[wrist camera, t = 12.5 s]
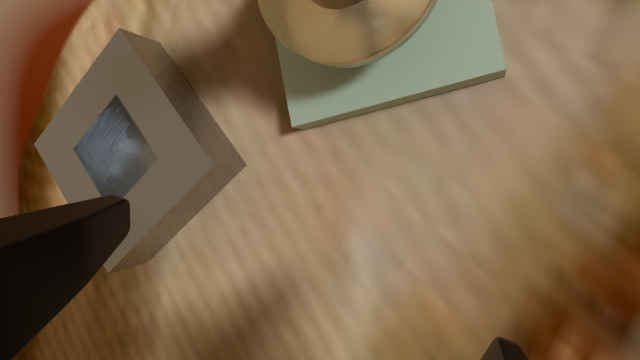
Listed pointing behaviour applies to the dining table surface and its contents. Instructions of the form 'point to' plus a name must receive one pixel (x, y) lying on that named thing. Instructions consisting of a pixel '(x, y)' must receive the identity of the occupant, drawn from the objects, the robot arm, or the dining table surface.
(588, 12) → the dining table surface
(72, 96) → the bore block
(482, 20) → the pad
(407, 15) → the metallic flared cylinder
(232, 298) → the dining table surface
